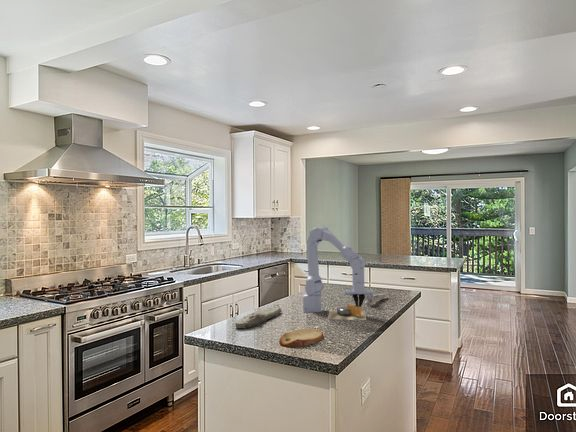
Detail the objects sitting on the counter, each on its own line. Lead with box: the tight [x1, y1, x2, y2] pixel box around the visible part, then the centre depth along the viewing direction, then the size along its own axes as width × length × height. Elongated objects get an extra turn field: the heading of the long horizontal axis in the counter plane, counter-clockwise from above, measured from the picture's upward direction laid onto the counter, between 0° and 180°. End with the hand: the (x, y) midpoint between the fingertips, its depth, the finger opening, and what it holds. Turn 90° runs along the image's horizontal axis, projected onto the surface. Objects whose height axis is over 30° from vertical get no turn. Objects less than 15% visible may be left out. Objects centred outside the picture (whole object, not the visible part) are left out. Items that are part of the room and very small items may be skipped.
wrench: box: [363, 293, 388, 307], centre depth 219 cm, size 8×2×30 cm
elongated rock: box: [234, 307, 283, 329], centre depth 186 cm, size 35×5×10 cm
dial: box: [336, 303, 362, 317], centre depth 189 cm, size 13×8×5 cm, turn 45°
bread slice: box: [278, 327, 324, 348], centre depth 155 cm, size 18×18×4 cm
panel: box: [327, 309, 367, 321], centre depth 189 cm, size 18×18×1 cm
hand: (358, 309), depth 188 cm, fingers closed
